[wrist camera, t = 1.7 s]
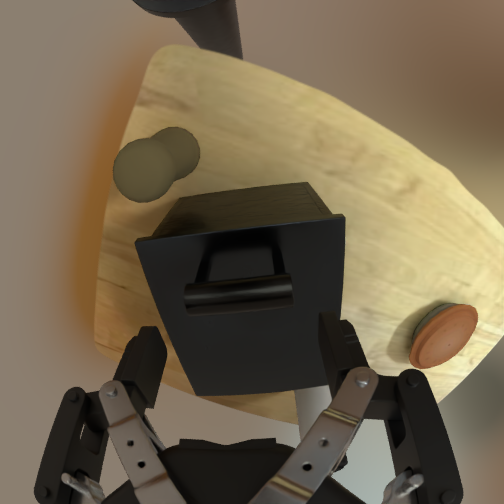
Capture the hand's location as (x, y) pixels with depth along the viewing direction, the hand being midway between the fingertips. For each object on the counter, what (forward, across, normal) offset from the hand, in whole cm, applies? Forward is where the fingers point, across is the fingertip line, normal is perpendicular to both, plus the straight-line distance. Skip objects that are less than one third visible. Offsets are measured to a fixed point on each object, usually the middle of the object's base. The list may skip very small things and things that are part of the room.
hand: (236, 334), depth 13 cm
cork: (+21, +7, -7) cm, 23 cm away
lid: (+8, 0, +7) cm, 10 cm away
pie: (+21, -32, +26) cm, 46 cm away
